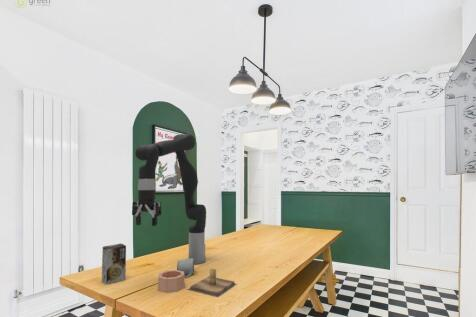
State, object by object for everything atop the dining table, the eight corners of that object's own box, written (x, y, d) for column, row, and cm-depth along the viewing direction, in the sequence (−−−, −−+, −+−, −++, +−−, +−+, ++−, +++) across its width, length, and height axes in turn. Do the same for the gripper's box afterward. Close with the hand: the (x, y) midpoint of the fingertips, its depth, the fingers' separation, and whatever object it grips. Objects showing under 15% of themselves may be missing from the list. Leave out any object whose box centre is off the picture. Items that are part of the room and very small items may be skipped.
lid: (208, 278, 128) (209, 263, 129) (234, 284, 121) (234, 267, 122) (190, 289, 116) (190, 272, 116) (217, 295, 109) (217, 277, 110)
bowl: (170, 281, 126) (170, 268, 126) (189, 286, 121) (189, 272, 121) (152, 290, 116) (153, 276, 117) (171, 295, 111) (172, 280, 111)
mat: (208, 279, 129) (208, 277, 129) (237, 285, 122) (237, 283, 122) (186, 291, 115) (186, 289, 115) (218, 298, 108) (218, 297, 108)
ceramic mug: (178, 272, 139) (178, 257, 140) (194, 271, 140) (194, 256, 141) (175, 280, 129) (176, 263, 129) (193, 279, 130) (193, 263, 130)
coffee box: (120, 276, 134) (121, 243, 135) (125, 279, 129) (126, 245, 130) (100, 281, 127) (102, 246, 129) (105, 284, 123) (107, 248, 124)
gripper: (165, 188, 122) (164, 224, 121) (140, 188, 127) (139, 223, 126) (154, 189, 115) (153, 227, 114) (128, 189, 120) (127, 225, 119)
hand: (146, 225), depth 120 cm, fingers open, 8 cm apart
